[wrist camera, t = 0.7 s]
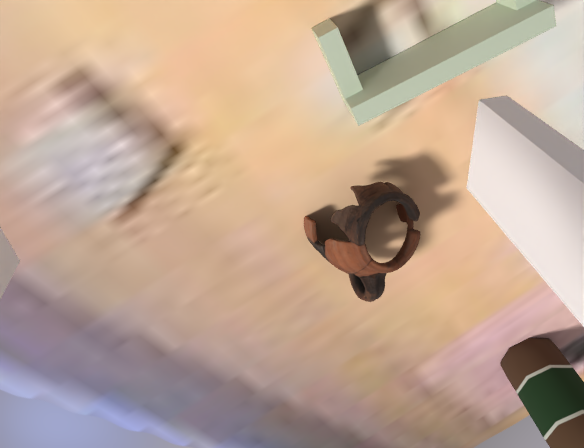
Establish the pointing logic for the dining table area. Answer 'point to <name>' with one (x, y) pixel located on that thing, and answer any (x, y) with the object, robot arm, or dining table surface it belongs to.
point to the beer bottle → (548, 390)
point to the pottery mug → (354, 253)
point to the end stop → (431, 55)
